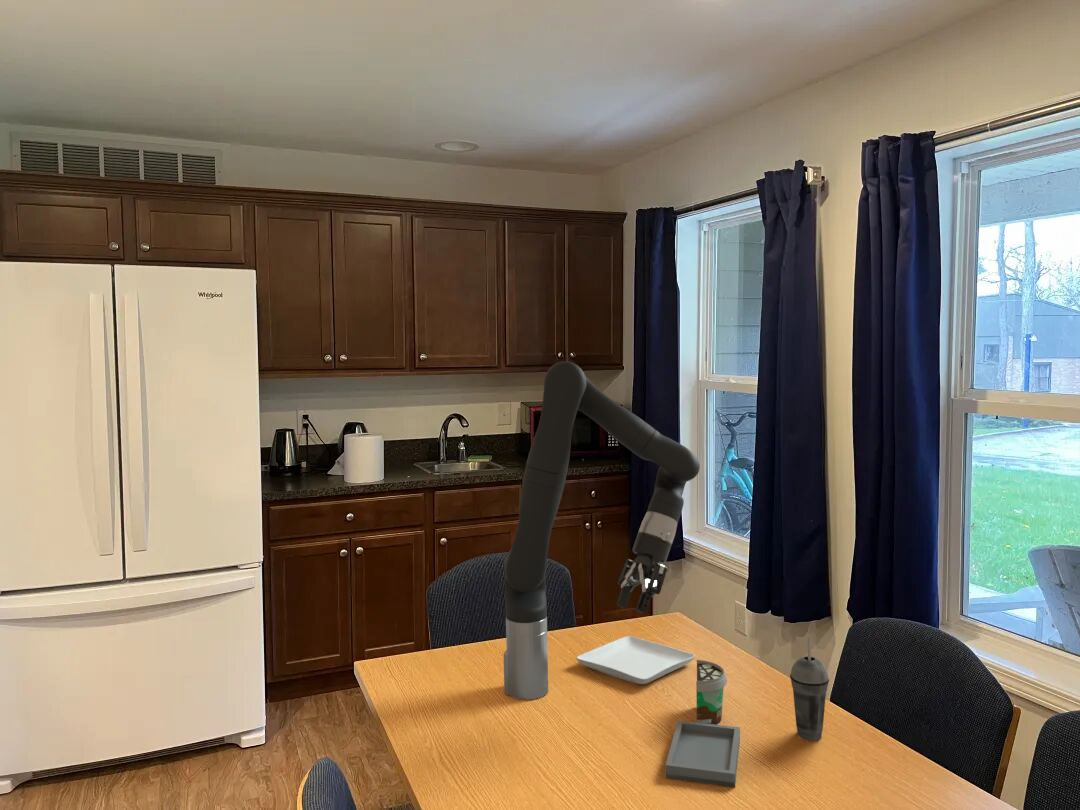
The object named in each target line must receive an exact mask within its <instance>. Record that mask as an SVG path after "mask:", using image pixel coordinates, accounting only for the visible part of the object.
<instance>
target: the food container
mask: <svg viewBox="0 0 1080 810" xmlns="http://www.w3.org/2000/svg"><path fill="white" fill-rule="evenodd" d="M727 679H728V678H727V674H726V672H725V669H724V668H723V667H722V666H721V665H719V664H718V663H715V662H712V661H709V660H701V659H696V681H695V683H696V687H695V688H696V691H695V692H696V722H697V723H706V724H715V725H719V723H721V722H722V718H723V716H722V715H723V701H724V689H725V688H724V687H725V686H726V685H727V684H728V680H727Z"/></svg>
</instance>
